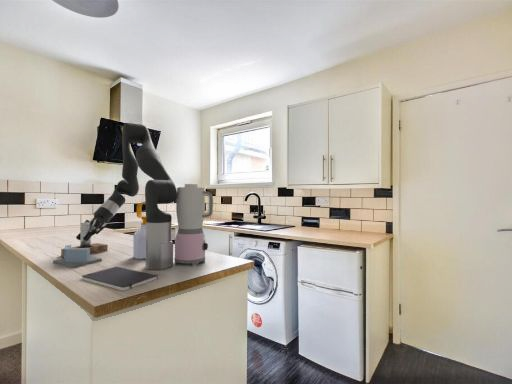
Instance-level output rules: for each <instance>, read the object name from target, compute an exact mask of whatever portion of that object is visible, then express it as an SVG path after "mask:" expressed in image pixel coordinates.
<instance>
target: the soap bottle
mask: <svg viewBox="0 0 512 384" xmlns="http://www.w3.org/2000/svg"><path fill="white" fill-rule="evenodd" d="M143 205H146V204H145V201H143V202H140V203H137V205H136V217H137V218H141V220H142V222H141V223H140V228H138V229H137V230H136V231H135V232H134V233H133V241H132V242H133V246H132V248H133V251H132V253H133V254H132V255H133V258H134V259H138V260H146V215H143V213H142V211H143V210H142V207H143Z"/></svg>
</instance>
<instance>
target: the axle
mask: <svg viewBox="0 0 512 384" xmlns="http://www.w3.org/2000/svg"><path fill="white" fill-rule="evenodd" d="M79 227H80V228H79V230H80V232H79V233H80V240H79V242H80V244H79V246H80V248H89V247H91V244H92V243H91V241H92V237H91V238H90V239H89V240H88V241H85V240H83V237H84V236H85V235H86V234H87V233H88V232H89V231H90V229H91V222H85V221H84V222H80V226H79Z"/></svg>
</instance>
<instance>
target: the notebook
mask: <svg viewBox="0 0 512 384" xmlns="http://www.w3.org/2000/svg"><path fill="white" fill-rule="evenodd" d="M158 277H159V276H158V275H157V274H153V273H148V272H143V271H139V270H134V269H129V268H125V267H120V266H113V267H110V268H107V269H106V268H105V269H103V270H98V271H94V272H91V273H86V274H83V275H81V278H82V279H81V280H83V281H87V282H90V283H94V284H98V285H101V286H105V287H109V288H112V289H116V290H120V291H126V290H130V289H132V288H135V287H137V286H140V285H142V284H145V283H149V282H151V281H154V280H157V279H159V278H158Z"/></svg>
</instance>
